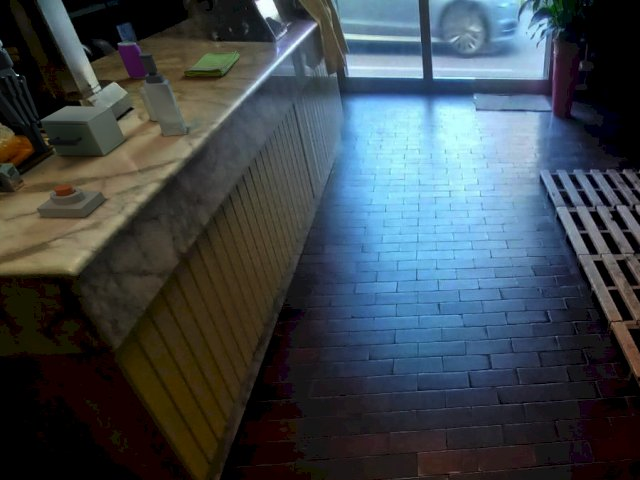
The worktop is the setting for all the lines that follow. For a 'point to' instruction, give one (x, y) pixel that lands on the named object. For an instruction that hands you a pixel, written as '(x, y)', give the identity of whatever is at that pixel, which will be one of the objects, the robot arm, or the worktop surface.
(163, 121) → the soap dispenser
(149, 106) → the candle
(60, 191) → the button
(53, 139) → the drawer
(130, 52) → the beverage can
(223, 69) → the dish towel
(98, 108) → the cabinet
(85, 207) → the control block
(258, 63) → the worktop surface
